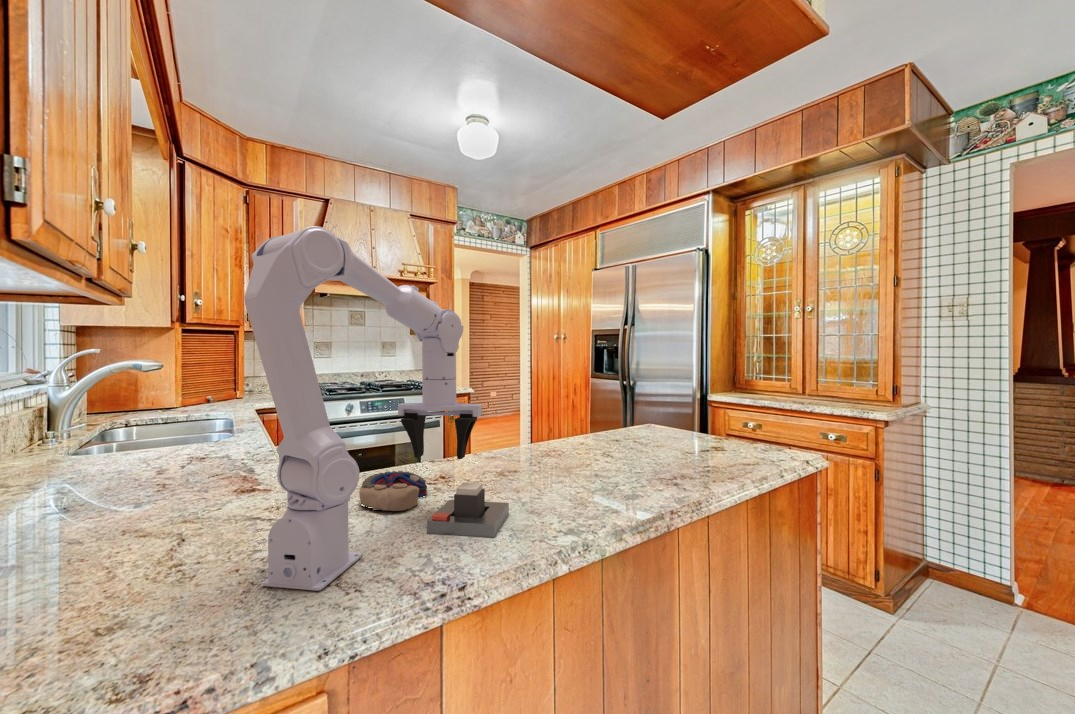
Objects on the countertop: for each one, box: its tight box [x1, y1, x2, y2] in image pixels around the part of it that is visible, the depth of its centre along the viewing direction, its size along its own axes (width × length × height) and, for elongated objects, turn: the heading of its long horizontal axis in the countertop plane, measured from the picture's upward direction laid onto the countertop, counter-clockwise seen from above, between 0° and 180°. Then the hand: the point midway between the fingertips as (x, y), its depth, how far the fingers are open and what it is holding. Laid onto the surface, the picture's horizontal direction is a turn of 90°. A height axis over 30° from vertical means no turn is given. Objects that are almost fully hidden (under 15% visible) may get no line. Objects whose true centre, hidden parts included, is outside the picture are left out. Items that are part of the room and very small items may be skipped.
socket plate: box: [426, 499, 510, 538], centre depth 74 cm, size 10×11×3 cm
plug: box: [453, 481, 486, 518], centre depth 74 cm, size 4×4×6 cm
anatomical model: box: [358, 470, 428, 512], centre depth 86 cm, size 12×16×5 cm
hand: (439, 457), depth 77 cm, fingers open, 7 cm apart
